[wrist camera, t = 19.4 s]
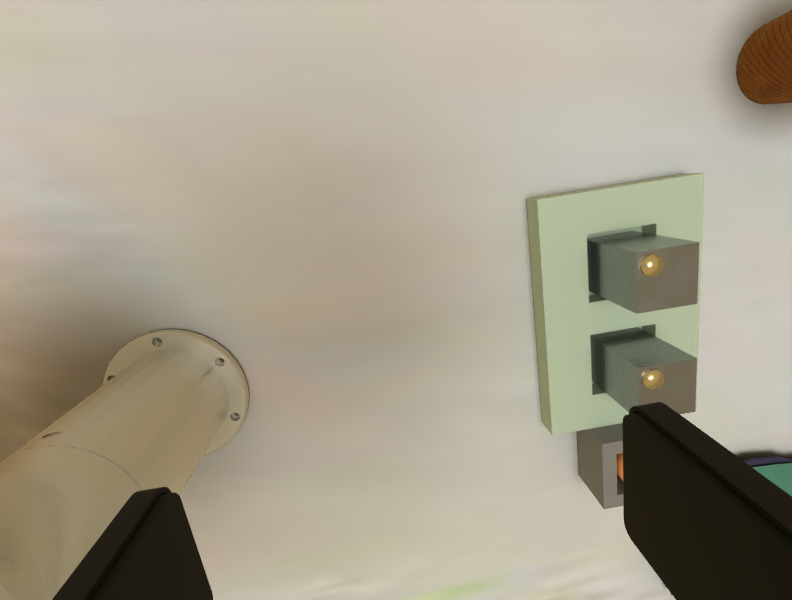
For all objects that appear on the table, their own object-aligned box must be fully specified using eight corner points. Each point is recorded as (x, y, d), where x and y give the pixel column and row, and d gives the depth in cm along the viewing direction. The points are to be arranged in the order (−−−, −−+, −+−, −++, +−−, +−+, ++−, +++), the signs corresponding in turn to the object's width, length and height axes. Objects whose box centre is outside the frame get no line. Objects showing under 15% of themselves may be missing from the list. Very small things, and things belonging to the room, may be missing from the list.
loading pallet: (676, 457, 46) (712, 489, 41) (546, 480, 45) (567, 515, 40) (682, 173, 38) (728, 172, 33) (526, 198, 38) (549, 200, 33)
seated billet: (635, 370, 42) (697, 412, 34) (588, 377, 42) (640, 422, 34) (634, 325, 41) (698, 359, 33) (587, 333, 41) (640, 369, 33)
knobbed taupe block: (633, 280, 40) (699, 304, 32) (584, 288, 40) (638, 314, 32) (632, 230, 38) (701, 242, 31) (582, 238, 38) (638, 252, 30)
